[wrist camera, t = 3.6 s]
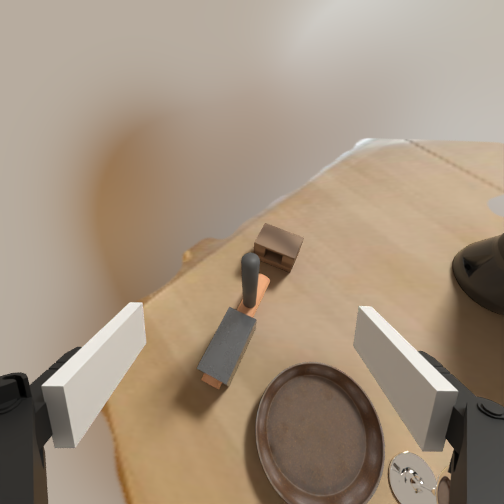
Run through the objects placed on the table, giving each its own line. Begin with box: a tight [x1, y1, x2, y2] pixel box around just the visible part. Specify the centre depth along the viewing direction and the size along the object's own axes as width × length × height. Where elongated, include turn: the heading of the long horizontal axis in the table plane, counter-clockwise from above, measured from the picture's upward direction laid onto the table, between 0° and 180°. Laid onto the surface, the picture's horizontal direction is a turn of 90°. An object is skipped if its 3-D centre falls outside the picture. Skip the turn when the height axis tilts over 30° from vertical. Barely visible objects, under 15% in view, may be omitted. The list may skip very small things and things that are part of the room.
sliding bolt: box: [201, 253, 270, 389], centre depth 35 cm, size 19×3×17 cm, turn 155°
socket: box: [254, 223, 304, 273], centre depth 50 cm, size 5×8×6 cm, turn 65°
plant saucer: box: [256, 362, 385, 504], centre depth 36 cm, size 18×18×3 cm
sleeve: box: [197, 307, 256, 387], centre depth 40 cm, size 10×5×6 cm, turn 155°
